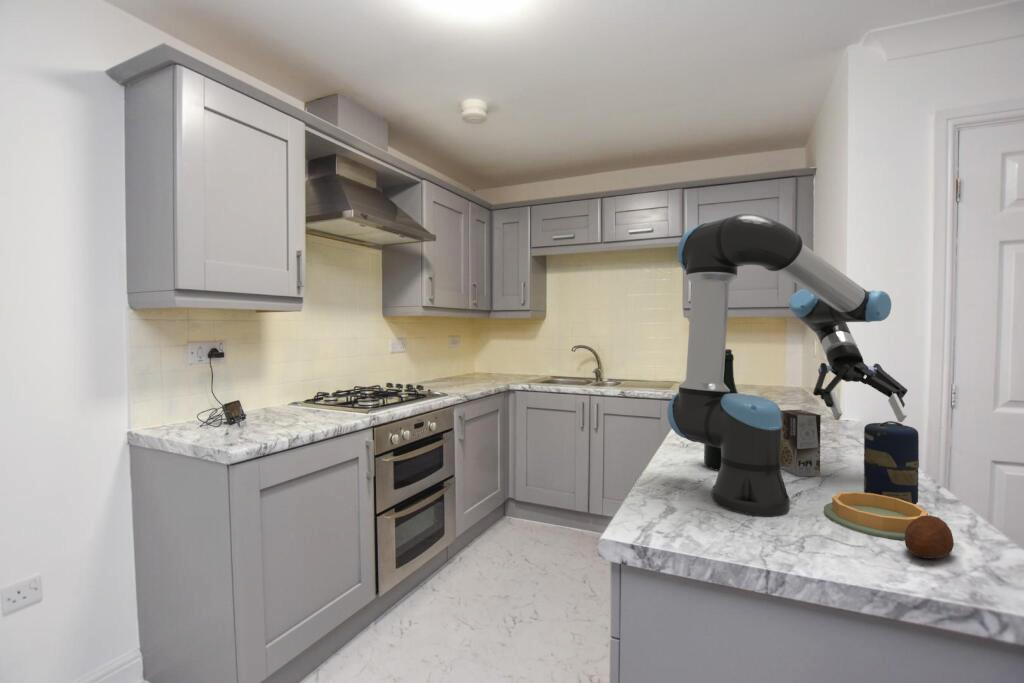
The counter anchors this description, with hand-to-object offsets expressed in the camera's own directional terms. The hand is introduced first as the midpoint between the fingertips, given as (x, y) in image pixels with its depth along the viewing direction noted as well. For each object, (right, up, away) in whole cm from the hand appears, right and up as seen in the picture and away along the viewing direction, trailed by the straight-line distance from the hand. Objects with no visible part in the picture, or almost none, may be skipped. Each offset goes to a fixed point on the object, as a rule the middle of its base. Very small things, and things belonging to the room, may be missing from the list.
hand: (870, 417), depth 114 cm
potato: (-16, -18, -34) cm, 41 cm away
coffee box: (-9, -17, +14) cm, 24 cm away
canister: (-3, -17, -9) cm, 20 cm away
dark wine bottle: (-27, -17, +18) cm, 37 cm away
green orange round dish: (-13, -17, -20) cm, 29 cm away
